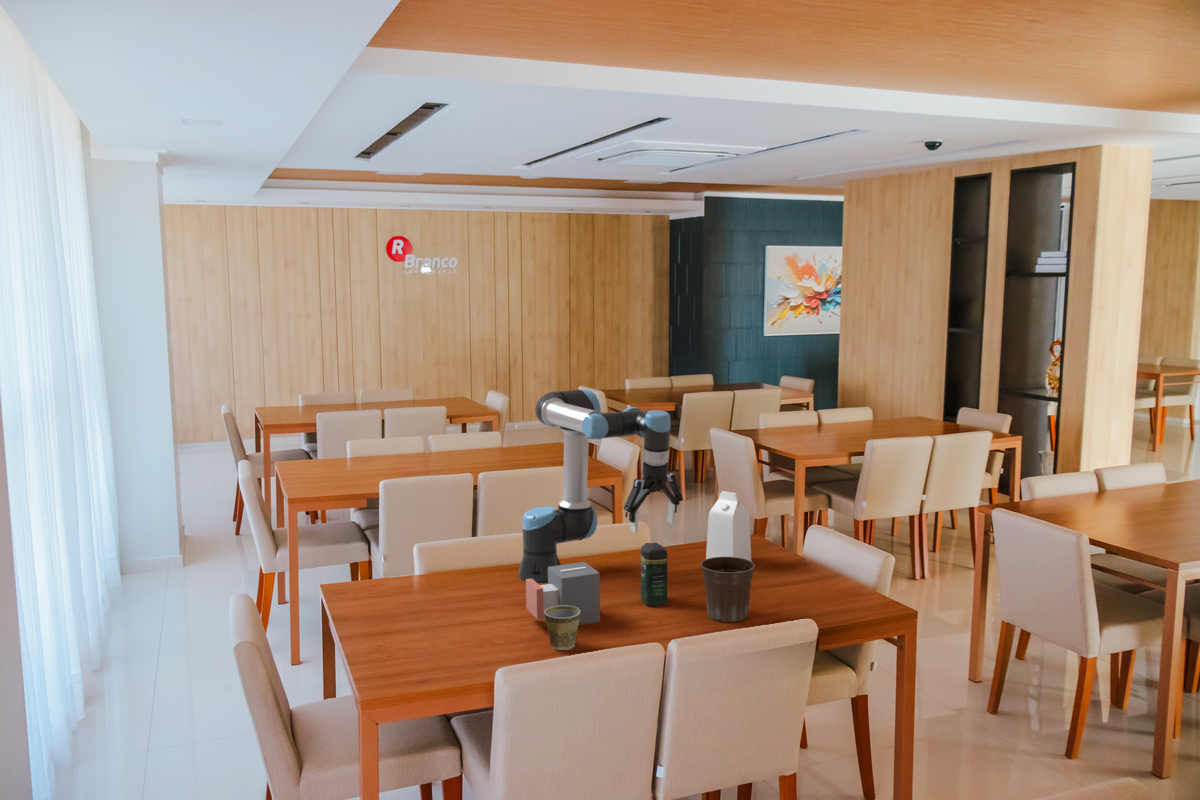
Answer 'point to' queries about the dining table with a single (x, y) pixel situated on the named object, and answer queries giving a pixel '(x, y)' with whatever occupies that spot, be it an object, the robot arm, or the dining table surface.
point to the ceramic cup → (562, 626)
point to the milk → (728, 528)
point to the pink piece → (540, 597)
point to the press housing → (578, 589)
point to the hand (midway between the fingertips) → (652, 527)
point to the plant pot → (727, 587)
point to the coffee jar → (653, 574)
